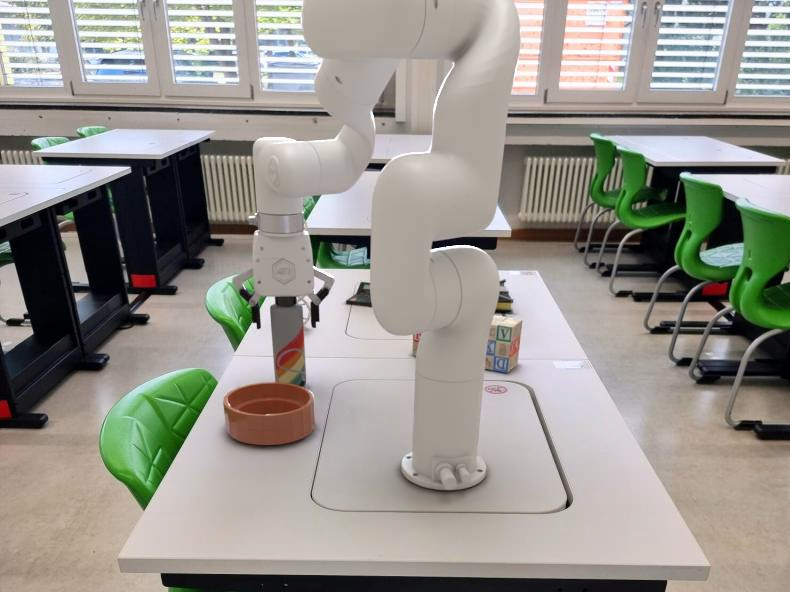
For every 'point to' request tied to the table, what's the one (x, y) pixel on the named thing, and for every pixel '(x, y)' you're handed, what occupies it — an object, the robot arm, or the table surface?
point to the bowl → (269, 413)
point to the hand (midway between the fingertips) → (286, 326)
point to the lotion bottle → (288, 341)
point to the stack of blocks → (497, 344)
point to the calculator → (361, 296)
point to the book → (504, 299)
